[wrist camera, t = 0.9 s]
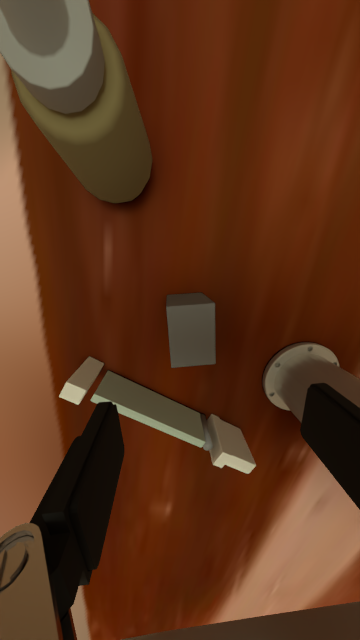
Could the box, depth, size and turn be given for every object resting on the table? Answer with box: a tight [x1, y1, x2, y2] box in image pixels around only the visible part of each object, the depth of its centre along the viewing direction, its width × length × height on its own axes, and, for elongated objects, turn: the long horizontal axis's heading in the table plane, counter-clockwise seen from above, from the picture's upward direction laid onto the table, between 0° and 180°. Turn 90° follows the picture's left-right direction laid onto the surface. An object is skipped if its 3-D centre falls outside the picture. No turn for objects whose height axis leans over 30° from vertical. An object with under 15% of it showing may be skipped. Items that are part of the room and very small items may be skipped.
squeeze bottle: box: [0, 0, 152, 203], centre depth 13 cm, size 8×8×18 cm
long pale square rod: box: [90, 371, 213, 451], centre depth 28 cm, size 19×2×6 cm, turn 59°
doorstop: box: [166, 293, 215, 368], centre depth 24 cm, size 5×7×8 cm
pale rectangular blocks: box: [59, 356, 256, 474], centre depth 28 cm, size 30×3×7 cm, turn 59°
